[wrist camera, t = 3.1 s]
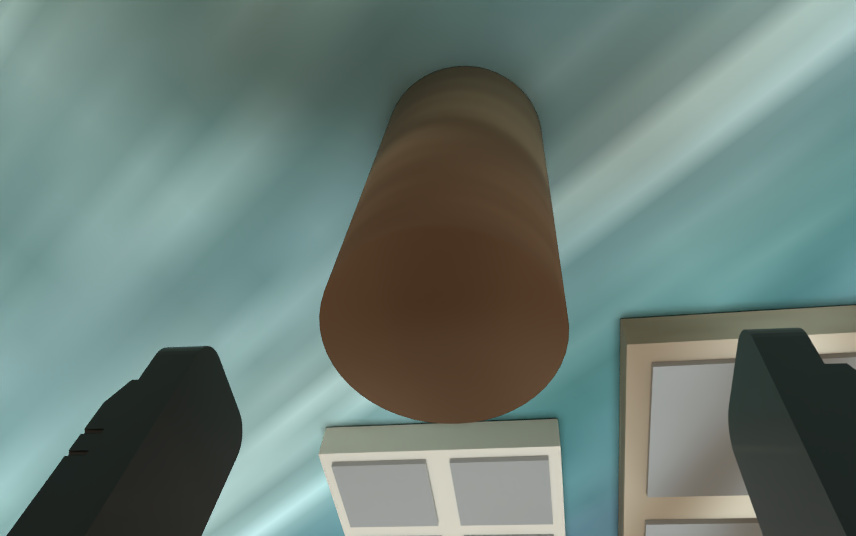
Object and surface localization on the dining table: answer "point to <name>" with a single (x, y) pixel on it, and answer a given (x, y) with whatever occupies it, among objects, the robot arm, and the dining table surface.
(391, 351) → the walnut pin
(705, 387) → the board
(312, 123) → the dining table surface
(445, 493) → the key plate
